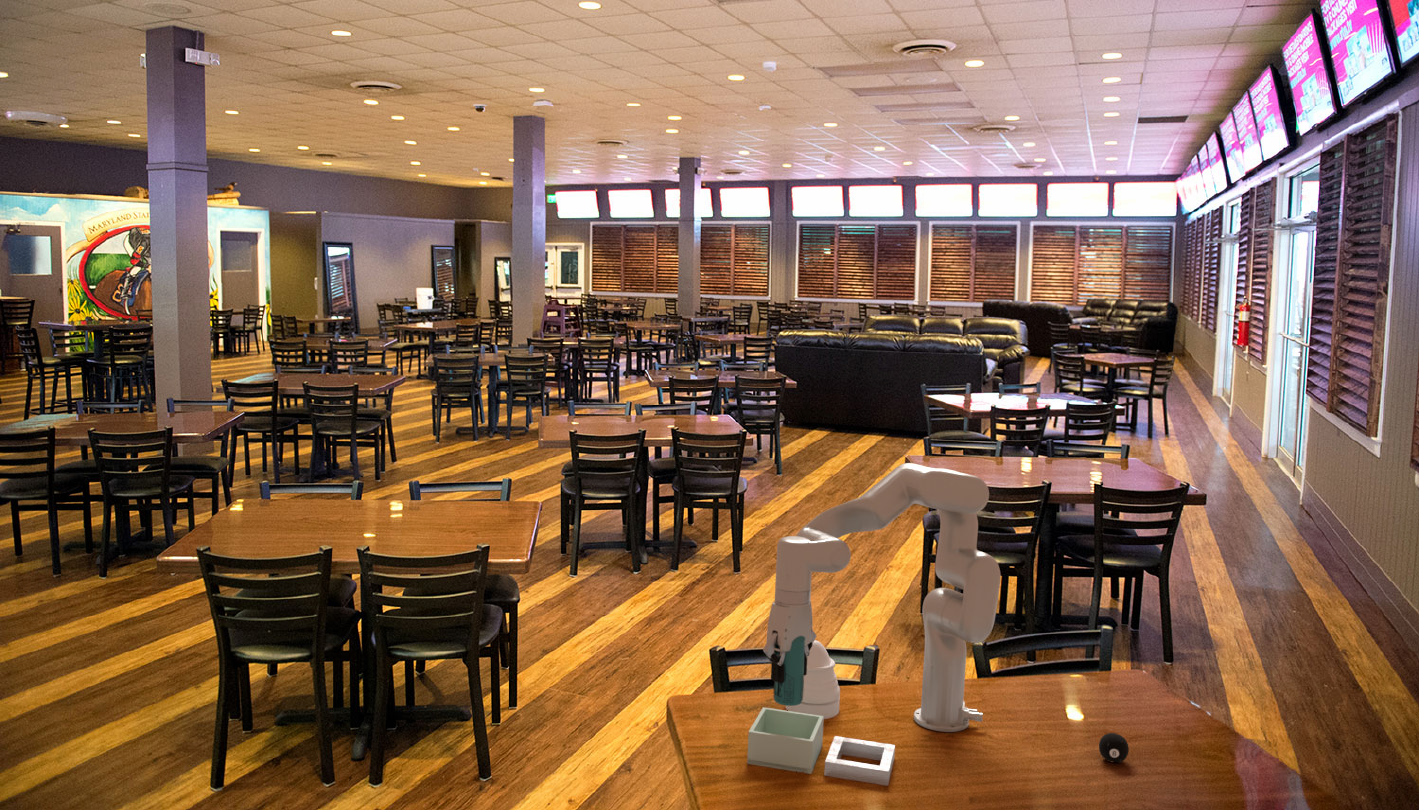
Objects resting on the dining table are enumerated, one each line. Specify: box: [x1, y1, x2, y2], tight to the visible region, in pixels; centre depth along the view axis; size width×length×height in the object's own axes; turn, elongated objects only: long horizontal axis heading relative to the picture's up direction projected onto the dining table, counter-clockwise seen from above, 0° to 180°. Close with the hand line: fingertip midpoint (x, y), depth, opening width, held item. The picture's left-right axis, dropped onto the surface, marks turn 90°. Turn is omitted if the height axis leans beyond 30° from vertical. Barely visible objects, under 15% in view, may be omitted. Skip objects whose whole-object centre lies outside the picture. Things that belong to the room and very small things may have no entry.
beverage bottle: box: [772, 636, 805, 707], centre depth 218 cm, size 6×7×20 cm
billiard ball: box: [1098, 732, 1130, 763], centre depth 222 cm, size 6×6×6 cm
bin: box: [746, 706, 825, 775], centre depth 220 cm, size 14×14×7 cm
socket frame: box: [823, 735, 896, 787], centre depth 215 cm, size 13×13×3 cm
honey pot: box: [785, 639, 841, 720], centre depth 245 cm, size 13×13×18 cm
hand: (788, 676), depth 218 cm, fingers closed on beverage bottle, 6 cm apart
